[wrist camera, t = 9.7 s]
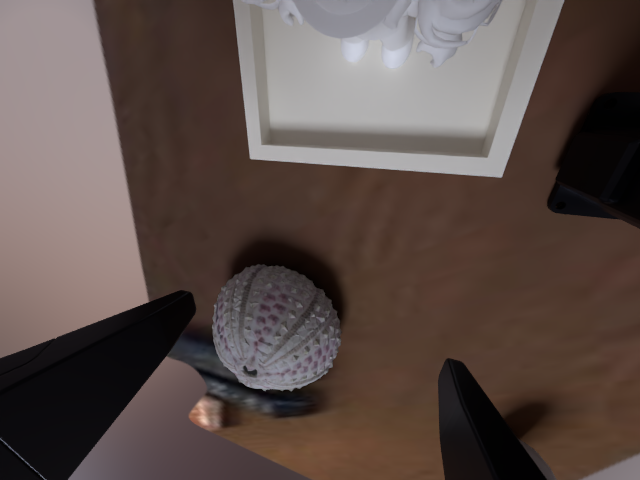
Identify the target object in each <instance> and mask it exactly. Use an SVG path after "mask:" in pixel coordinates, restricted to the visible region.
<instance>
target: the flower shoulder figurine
mask: <svg viewBox="0 0 640 480" xmlns="http://www.w3.org/2000/svg"><path fill="white" fill-rule="evenodd" d="M241 1H242V2H244V3H246V4H255V5H257V6H259V7H261V8H264V9H267V10H274V9H276V8H278V10H279V13H280V15H281V18H282V19H283V21H284V22H285V23H286V24H288V25H290V26H292V25H293V22H294V19H293V18H294V16H296V18H297V20H298V22H299V24H300V25H303V24H304V19H305V20H306V22H307V23H308V24H309V25H311V26H312V27H313V28H314V29H315V30H316V31H318V32H320V33H322V34H324V35H326V36H329V37H334V38H338V39H341V52H342V55H343V57H344V58H345V59H346V60H347V61H349V62H352V63H353V62H357V61H359V60H360V59H361V58H362V57H363V56H364V55H365V53H366V51H367V49H368V47H369V40H379V39H380V41H381V42H382V44H383V45H382V47H381V57H382V61H383V63H384V65H385V66H386V67H387V68H389V69H396V68H398V67H401V66H402V65H403V64H404V63H405V62H406V60H407V58H408V57H409V55H410V52H411V49H412V45H413V40H414V34H416V36H417V38H418V39H419V40H420V42H419V43H418V46H417V48H416V52H417V53H418V52H421V51H425V52H427V53H429V54H431V55H432V58H433V59H432V60H431V62H430V64H431V65H432V66H433V67H434V68H437V67H439V66H441V65H442V64H443V63H444V62H445V61H446V60H447V59H449V58H451V57H452V56H453V55H455V53H456V50H457V48H458V47H460V46H463V45H466V44H468V43H469V42H470V41H471V40H472V39H473V38H474V36H475V33H476V31H477V29H478V26H479V25H481V26H488V25H489V24H490V23H491V21H492V20H493V18H494V16H495V14H496V12H497V11H498V9H499V6H500V4H501V2H502V0H276V1H275V2H273V3H271V4H263V3H262V2H264V1H266V0H241ZM491 12H492V14H491ZM490 14H491V16H490V18H489V20H488V22H487V23H483V22H484V21H485V20H486V19H487V18H488V17H489V15H490ZM291 16H292V17H293V18H292V17H291ZM413 17H416V20H414V18H413ZM417 20H418V24H419V28H420V31H421V34H422V35H421V34H420V32H419V31H418V30H417ZM473 30H474V33H473V35H472V36H471V38H470V39H469V40H467V41H462V33H465V32H469V31H473Z"/></svg>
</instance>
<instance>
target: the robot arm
mask: <svg viewBox="0 0 640 480" xmlns="http://www.w3.org/2000/svg"><path fill="white" fill-rule="evenodd" d="M608 99H611V101H612V102H611V105H610V106H609V107H608V108H606V109H605V108H604V103H605V102H606V101H607V100H608ZM556 181H557V184H556V186H555V188H554V191H553V193H552V195H551V197H550V199H549V201H548V205H547V206H548V208H549V209H550V210H551V211H553V212H555V213H560V214H570V215H580V216H590V217H601V218H611V219H621V220H623V221H625V222H627V223H629V224H631V225H633V226H635V227H637V228H639V229H640V92H615V93H607V94H604V95H602V96H600V97H599V98H598V99H596V101H595V102H594V104H593V106H592V108H591V110H590V112H589V114H588V117H587V119H586V121H585V123H584V125H583V127H582V130H581V132H580V133H579V134H578V135H576V136H575V137H574V139H573V141H572V144H571V146H570V148H569V150H568V152H567V155H566V157H565V159H564V161H563V163H562V166H561V168H560V170H559V172H558V175H557V177H556ZM559 202H562V205H561V206H559V207H556V204H557V203H559ZM195 313H196V305H195V301H194V298H193V294H192V293H191V292H188V291H184V290H180V291H177V292H174V293H172V294H169V295H166V296H164V297H161V298H159V299H156V300H153V301H151V302H148V303H146V304H143V305H140V306H138V307H135V308H132V309H130V310H127V311H125V312H122V313H119V314H117V315H114V316H112V317H109V318H106V319H104V320H101V321H98V322H96V323H93V324H91V325H88V326H86V327H83V328H80V329H78V330H75V331H72V332H70V333H67V334H64V335H62V336H59V337H57V338H56V339H51V340H49V341H46V342H43V343H41V344H38V345H36V346H33V347H30V348H28V349H25V350H22V351H19V352H17V353H14V354H11V355H8V356H5V357H2V358H0V480H68V478H69V477H70V476H71V475H72V474H73V472H74V471H75V470H76V468H77V467H78V466H79V465H80V464H81V462H82V461H83V460H84V458H85V457H86V456H87V455H88V453H89V452H90V451H91V450H92V449H93V447H94V446H95V445H96V444H97V442H98V441H99V440H100V439H101V437H102V436H103V435H104V434H105V432H106V431H107V430H108V428H109V427H110V426H111V425H112V423H113V422H114V421H115V420H116V418H117V417H118V416H119V415H120V413H121V412H122V411H123V410H124V408H125V407H126V406H127V405H128V403H129V402H130V401H131V400H132V398H133V397H134V396H135V395H136V393H137V392H138V391H139V390H140V388H141V387H142V386H143V384H144V383H145V382H146V381H147V380H148V378H149V377H150V376H151V375H152V373H153V372H154V371H155V369H156V368H157V367H158V366H159V365H160V363H161V362H162V361H163V360H164V358H165V357H166V356H167V355H168V353H169V352H170V351H171V349H172V348H173V346H174V345H175V343H176V342H177V340H178V339H179V337H180V336H181V334H182V333H183V331H184V330H185V328H186V327H187V325H188V324H189V322H190V321H191V319H192V318H193V316H194V315H195ZM438 394H439V430H440V444H441V453H442V460H443V468H444V475H445V480H547V478H546V477H545V476H544V474H543V473H542V472H541V470H540V469H539V467H538V466H537V465H536V463H535V462H534V460H533V459H532V458H531V456H530V455H529V453H528V452H527V451H526V449H525V448H524V447H523V445H522V444H521V442H520V441H519V440H518V438H517V437H516V435H515V434H514V433H513V431H512V430H511V428H510V427H509V426H508V424H507V423H506V422H505V420H504V419H503V417H502V416H501V415H500V413H499V412H498V410H497V409H496V408H495V406H494V405H493V403H492V402H491V401H490V399H489V398H488V397H487V395H486V394H485V392H484V391H483V390H482V388H481V387H480V385H479V384H478V383H477V381H476V380H475V378H474V377H473V376H472V374H471V373H470V372H469V370H468V369H467V367H466V366H465V365H464V363H462V362H461V361H458V360H454V359H450V358H447V359H446V360H445V362H444V365H443V367H442V369H441V372H440V374H439V379H438Z"/></svg>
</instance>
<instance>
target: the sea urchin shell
mask: <svg viewBox="0 0 640 480" xmlns="http://www.w3.org/2000/svg"><path fill="white" fill-rule="evenodd" d="M218 295H219V297H218V298H217V300H218V301H217V303H216V304H214V306H215V309H214V312H215V313H214V315H213V317H212V319H213V321H214V324H213V325H212V328H213V337H214V339H213V341H214V343H215V346H216V350H217V353H218V355H219V358H220V360H221V361H222V362H223V363H224V366H226V367H228V369H229V370H231V371H232V372H233V373H234V374H235V375H236V376H237V378H238V379H239V382H241V383H243V384H245V385H246V386H248V387H251V388H262V389H263V390H264V391H265V390H267V389H280V390H282V391H283V390H284V389H288V390H290V391H292V390H293V388H299V389H300V388H301V387H302V386H305V385H307V384H309V383H311V382H314V381H316V380H317V379H318V378H321V376H323V374H326V372H328V368H331V367H333V365H332V362H333V359H335V357H336V356H337V352H339V351H338V347H339V346H340V345H341V343H340V342H341V338H340V335H341V333H342V332H341V330H340V328H339V326H340V325H339V324H340V321H339V319H338V317H337V311H336V310H334V309H333V308H332V304H331V301H332V300H330V299H328V297H326V296H325V293H324V291H323V290H322V289H318V288H316V287H315V286H314V284H313V282H312V281H310V280H309V279H308V278H306V277H305V275H300V274H299V273H297V272H296V271H291V270H290V269H286V268H285V267H284V266H281V267H279V266H278V265H276V266H269V267H267V266H266V265H264V264H263V265H260V264H257V265H256V266H253V265H252V266H251V267H246V268H245V269H244V270H243V271H242V272H241V273H240V274H236V275H234V277H233V278H232V279H230V280H228V281H227V284H226V286H223V287H222V290H221V293H220V294H218Z"/></svg>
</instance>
